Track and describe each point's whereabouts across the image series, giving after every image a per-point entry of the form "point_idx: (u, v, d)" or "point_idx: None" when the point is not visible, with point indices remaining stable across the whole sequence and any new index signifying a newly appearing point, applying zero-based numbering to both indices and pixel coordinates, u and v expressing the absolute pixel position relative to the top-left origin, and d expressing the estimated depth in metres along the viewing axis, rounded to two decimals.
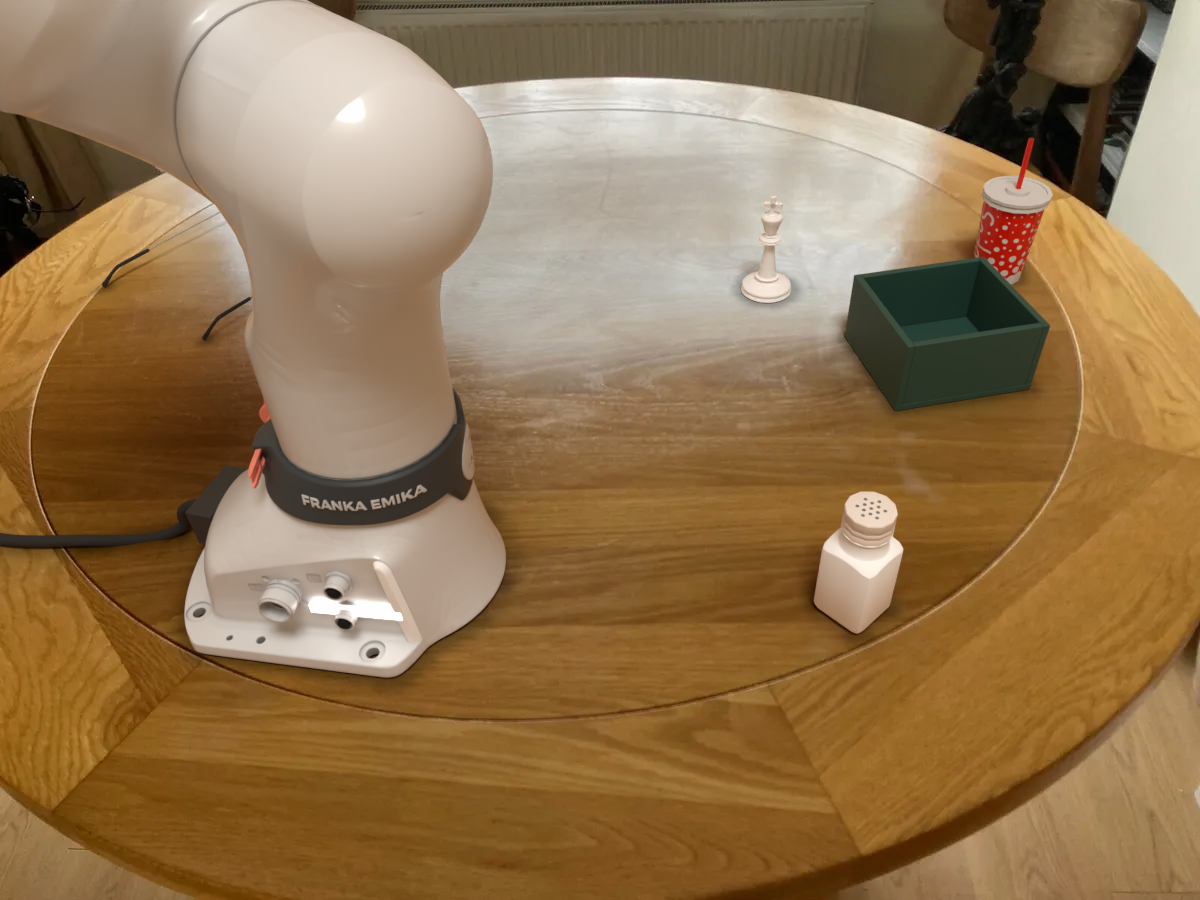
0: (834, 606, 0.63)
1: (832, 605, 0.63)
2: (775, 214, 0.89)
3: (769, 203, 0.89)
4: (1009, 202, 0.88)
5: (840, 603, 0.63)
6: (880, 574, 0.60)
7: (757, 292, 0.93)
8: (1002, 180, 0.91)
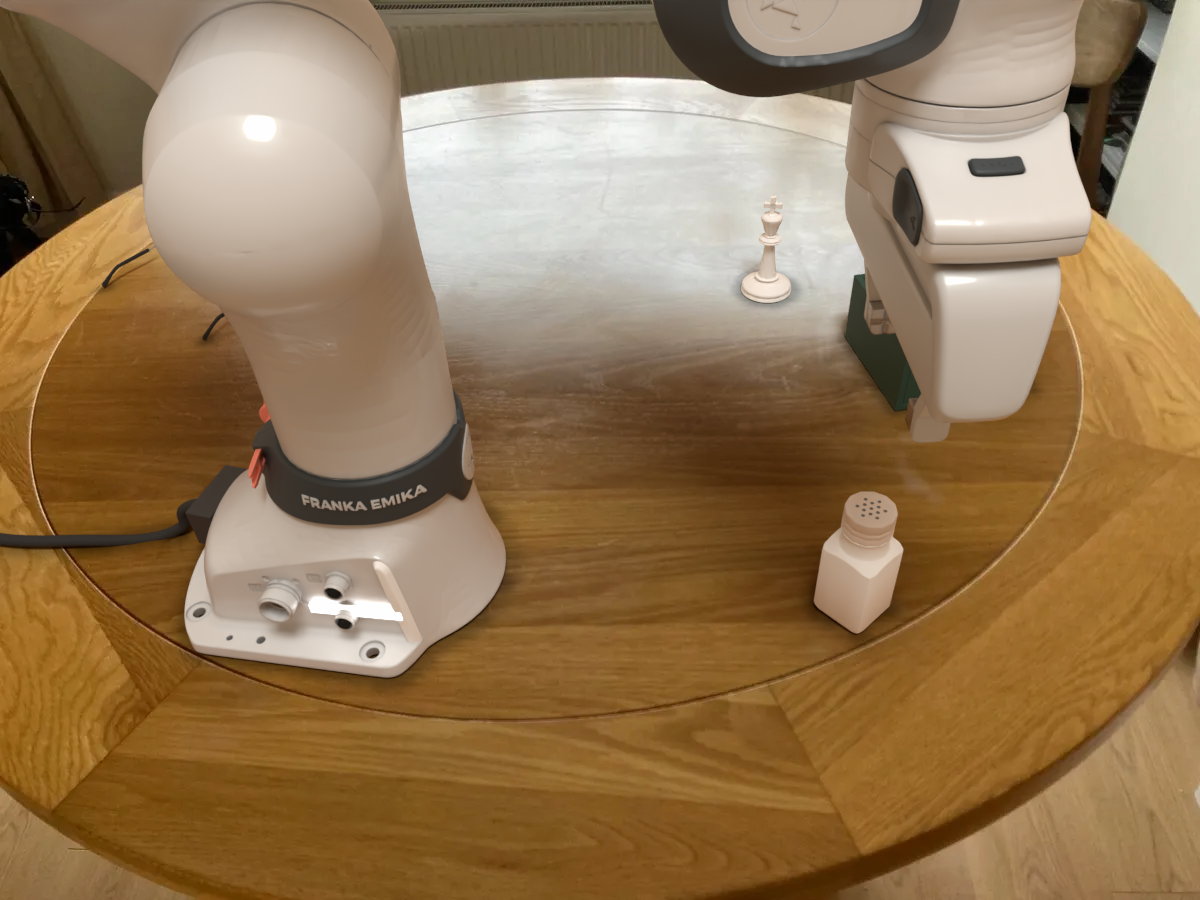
0: (834, 606, 0.63)
1: (832, 605, 0.63)
2: (775, 214, 0.89)
3: (769, 203, 0.89)
4: None
5: (840, 603, 0.63)
6: (880, 574, 0.60)
7: (757, 292, 0.93)
8: None
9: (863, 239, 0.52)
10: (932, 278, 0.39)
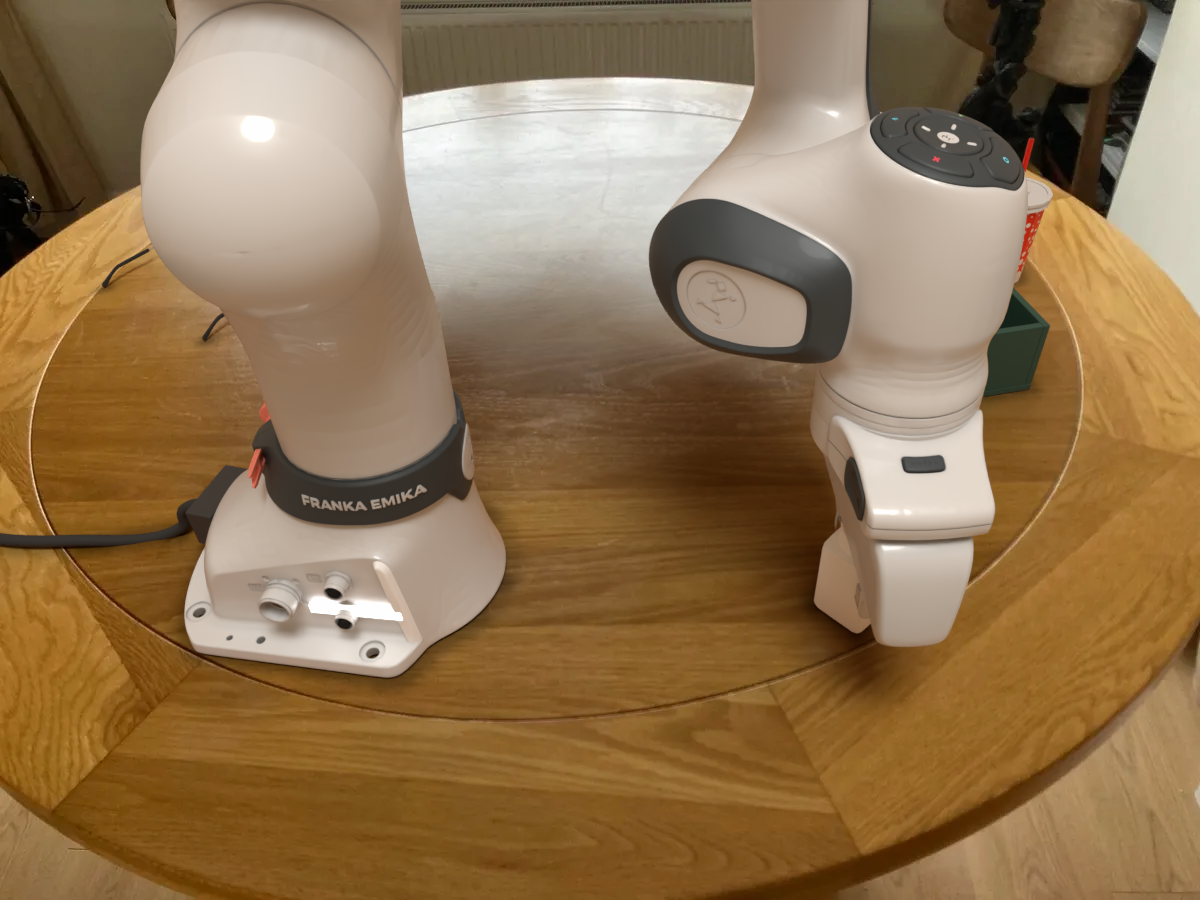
0: (834, 606, 0.63)
1: (832, 605, 0.63)
2: None
3: None
4: None
5: (840, 603, 0.63)
6: None
7: None
8: None
9: (828, 459, 0.62)
10: (873, 547, 0.49)
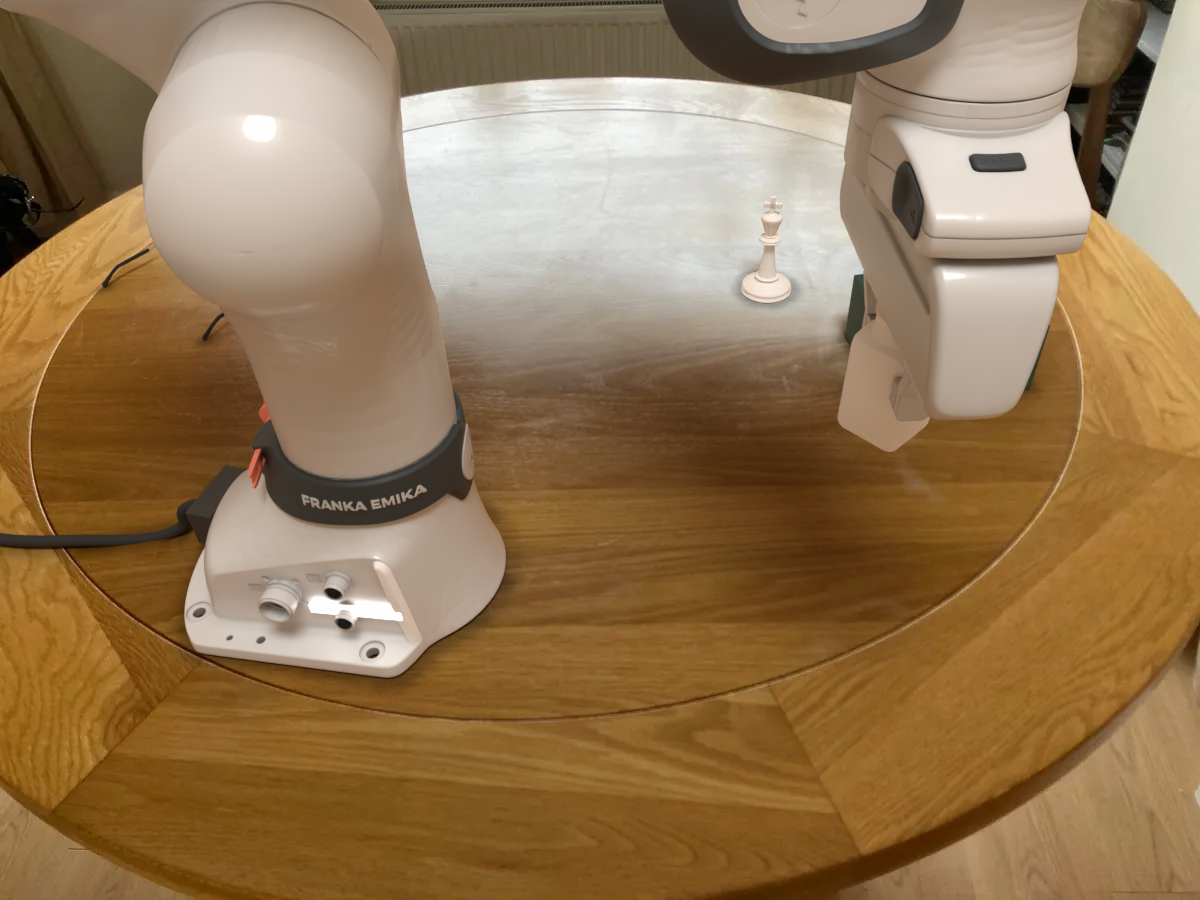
0: (863, 418, 0.53)
1: (861, 418, 0.53)
2: (775, 214, 0.89)
3: (769, 203, 0.89)
4: None
5: (871, 413, 0.52)
6: None
7: (757, 292, 0.93)
8: None
9: (858, 237, 0.52)
10: (931, 273, 0.39)
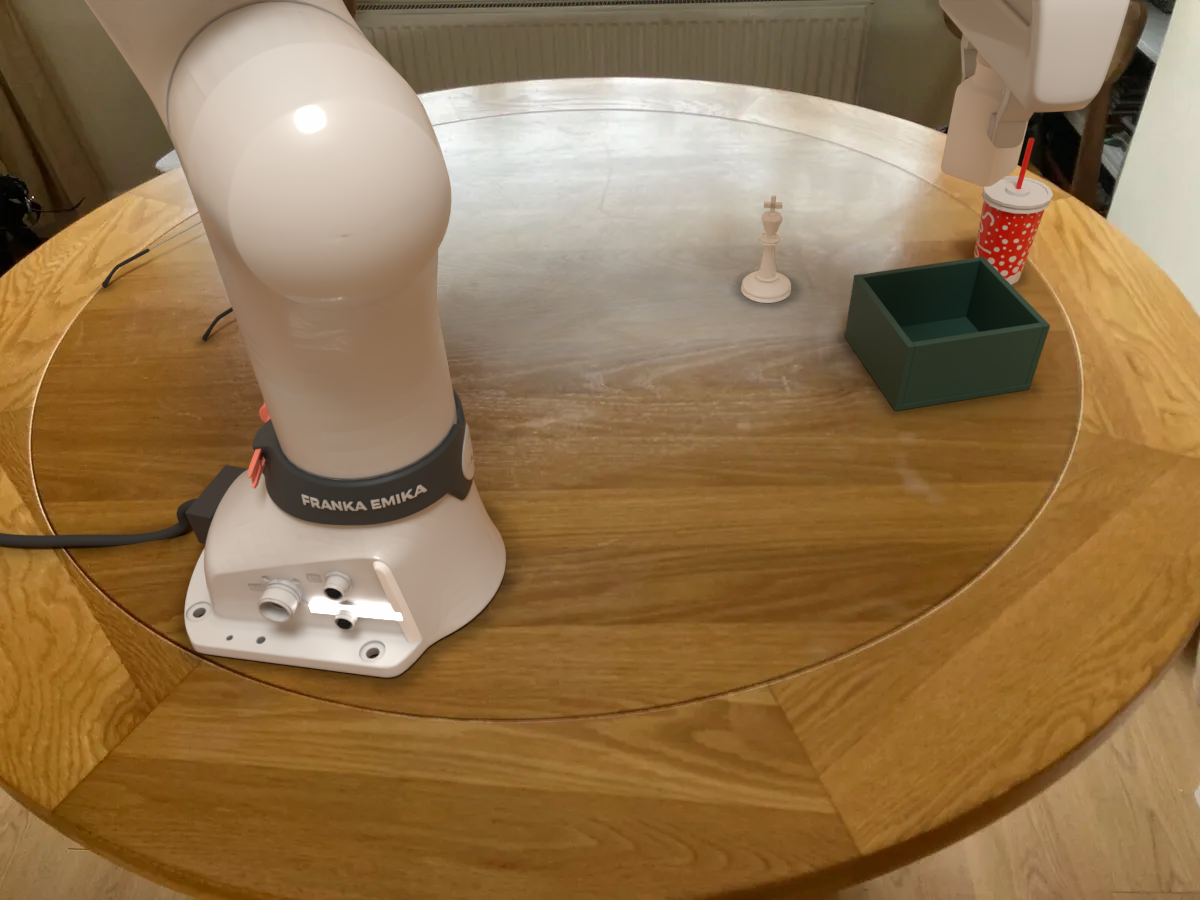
0: (964, 159, 0.65)
1: (962, 159, 0.65)
2: (775, 214, 0.89)
3: (769, 203, 0.89)
4: (1009, 202, 0.88)
5: (971, 152, 0.64)
6: None
7: (757, 292, 0.93)
8: (1002, 180, 0.91)
9: (958, 8, 0.64)
10: None
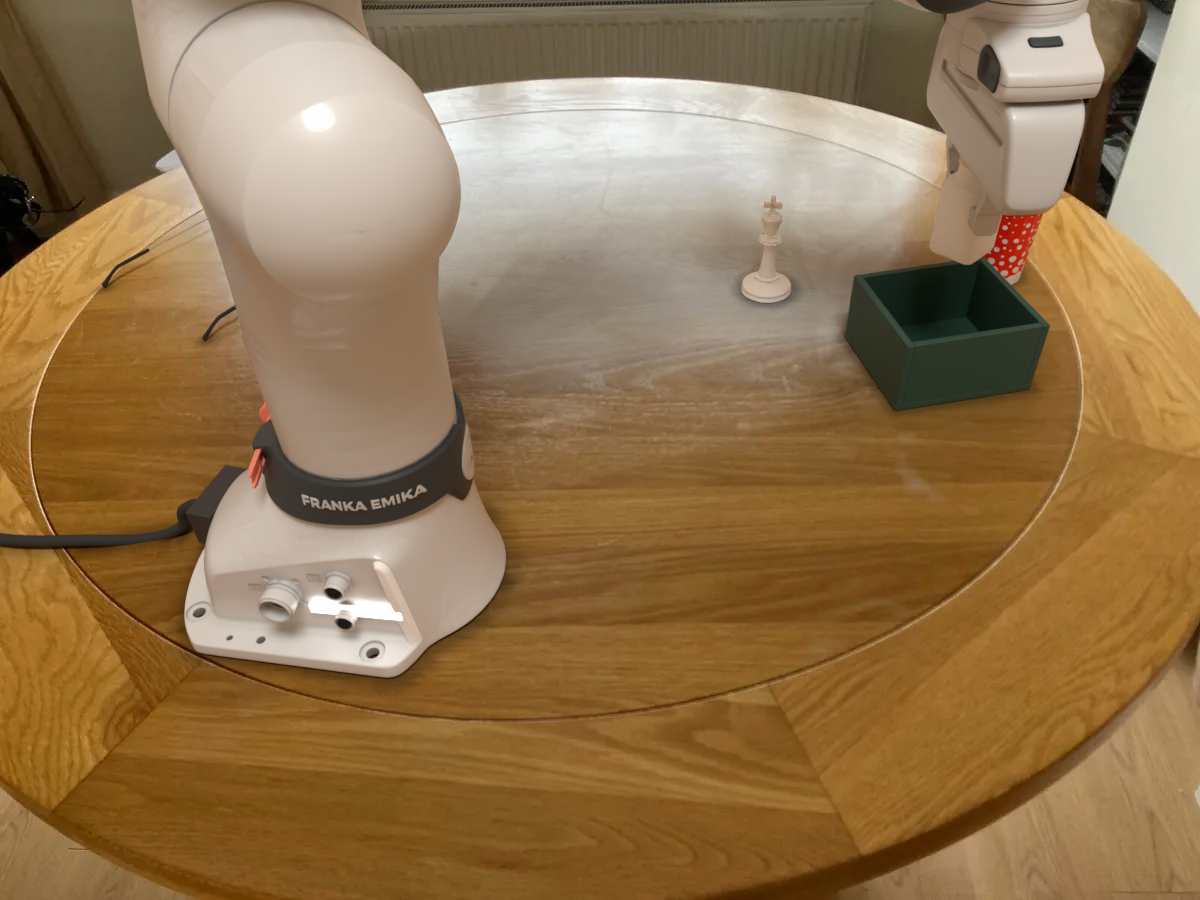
0: (949, 242, 0.76)
1: (947, 241, 0.76)
2: (775, 214, 0.89)
3: (769, 203, 0.89)
4: None
5: (955, 236, 0.75)
6: None
7: (757, 292, 0.93)
8: None
9: (943, 115, 0.75)
10: (1004, 113, 0.62)
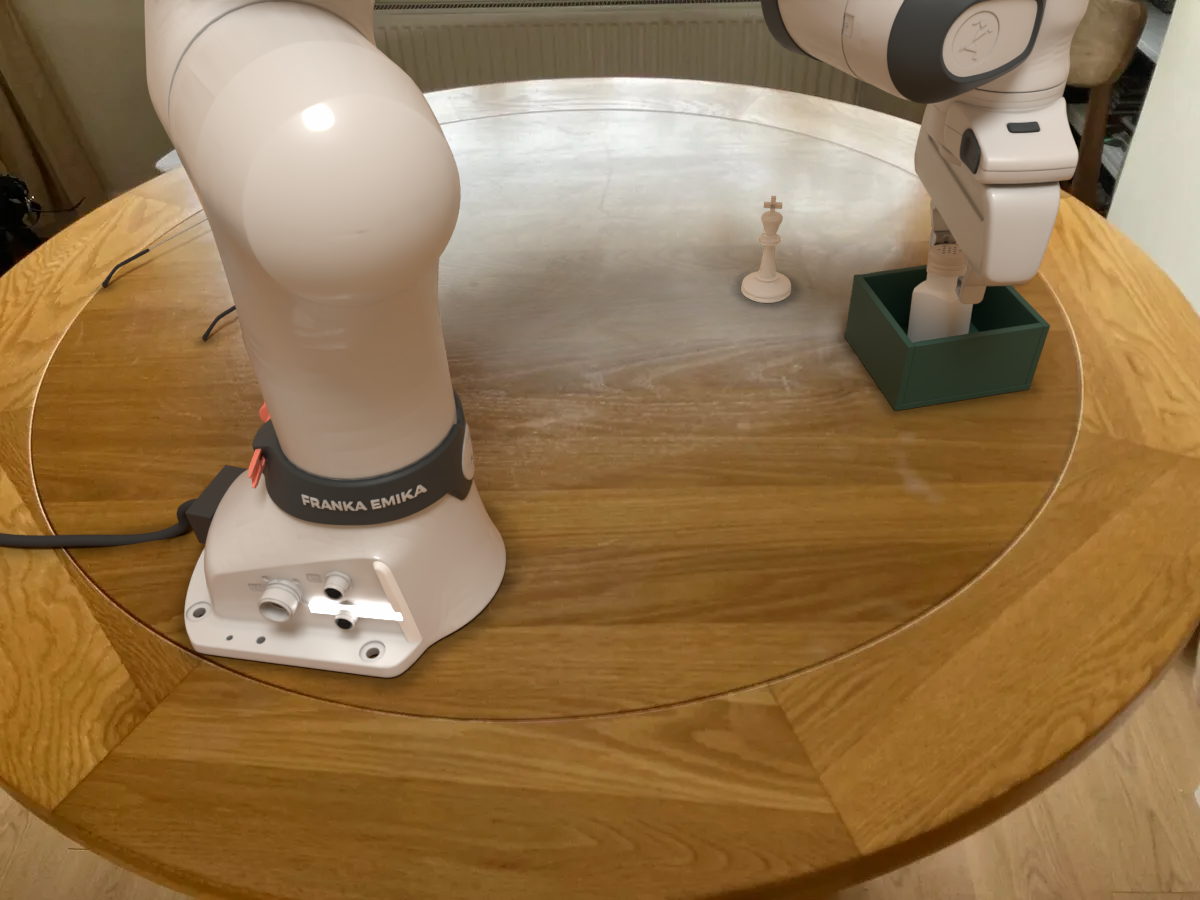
0: None
1: None
2: (775, 214, 0.89)
3: (769, 203, 0.89)
4: None
5: (928, 337, 0.82)
6: (958, 302, 0.80)
7: (757, 292, 0.93)
8: None
9: (929, 182, 0.79)
10: (984, 193, 0.66)
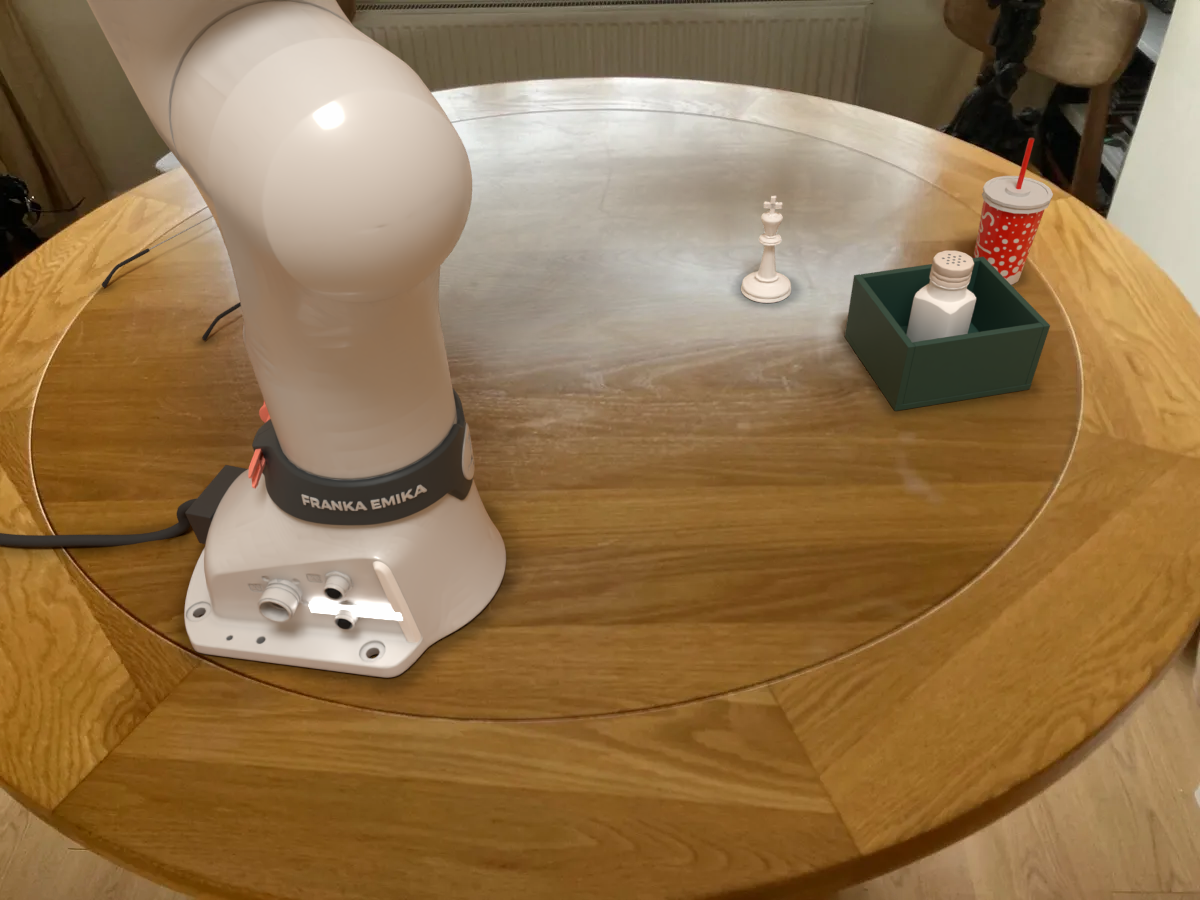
0: None
1: None
2: (775, 214, 0.89)
3: (769, 203, 0.89)
4: (1009, 202, 0.88)
5: None
6: (958, 312, 0.80)
7: (757, 292, 0.93)
8: (1002, 180, 0.91)
9: None
10: None
